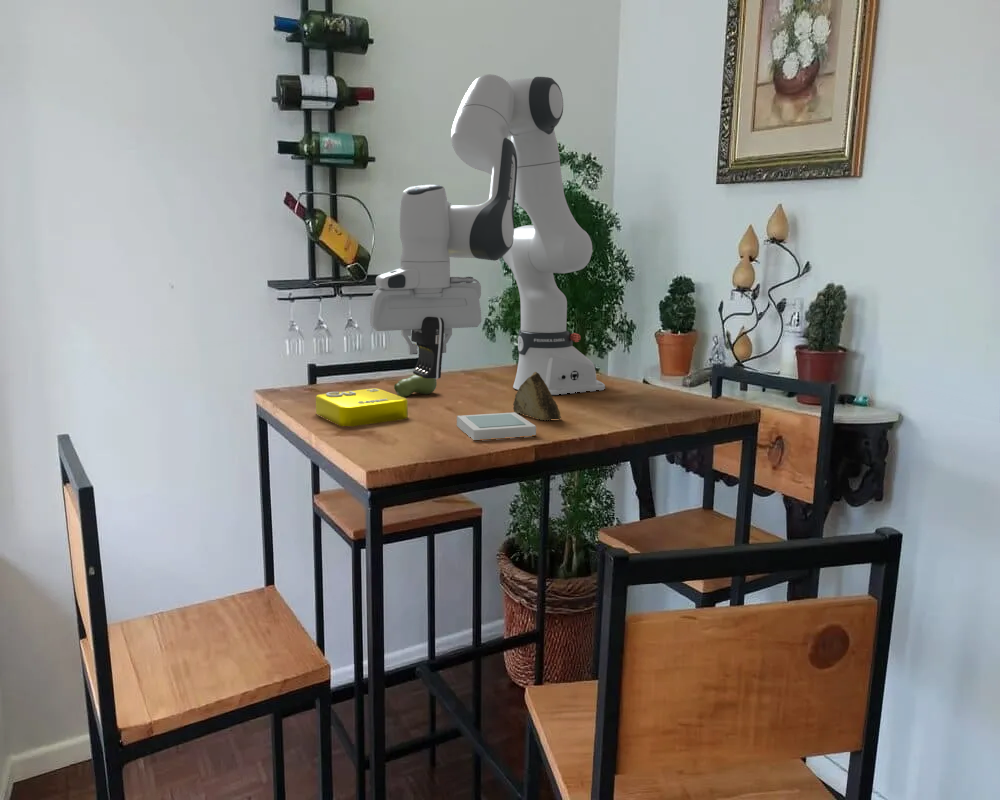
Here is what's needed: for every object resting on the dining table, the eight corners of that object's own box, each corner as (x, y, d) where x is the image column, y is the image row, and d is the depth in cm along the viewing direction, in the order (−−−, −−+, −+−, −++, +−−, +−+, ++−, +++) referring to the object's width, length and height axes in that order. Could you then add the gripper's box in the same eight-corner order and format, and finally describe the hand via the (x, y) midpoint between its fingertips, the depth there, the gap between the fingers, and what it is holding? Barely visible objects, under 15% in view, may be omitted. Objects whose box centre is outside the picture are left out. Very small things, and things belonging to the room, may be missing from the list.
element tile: (342, 429, 150) (342, 405, 149) (312, 415, 162) (312, 392, 161) (411, 420, 158) (411, 397, 158) (378, 406, 170) (377, 385, 169)
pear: (437, 371, 180) (396, 381, 177) (441, 393, 182) (400, 403, 178) (429, 367, 185) (389, 377, 182) (433, 389, 187) (393, 398, 183)
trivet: (514, 422, 156) (515, 411, 155) (535, 436, 145) (536, 425, 144) (456, 425, 152) (456, 415, 152) (473, 441, 141) (473, 429, 141)
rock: (499, 401, 164) (510, 404, 155) (522, 368, 165) (535, 369, 155) (539, 430, 167) (552, 435, 157) (561, 397, 167) (576, 400, 158)
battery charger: (406, 373, 146) (410, 312, 144) (425, 373, 148) (428, 313, 146) (422, 380, 140) (426, 316, 138) (441, 379, 142) (445, 317, 140)
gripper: (476, 275, 147) (476, 348, 150) (367, 277, 140) (369, 353, 143) (485, 277, 141) (486, 353, 144) (372, 279, 135) (375, 358, 138)
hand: (427, 353), depth 144 cm, fingers closed on battery charger, 4 cm apart
